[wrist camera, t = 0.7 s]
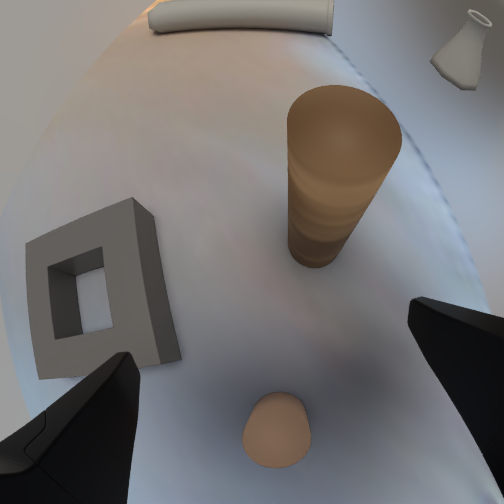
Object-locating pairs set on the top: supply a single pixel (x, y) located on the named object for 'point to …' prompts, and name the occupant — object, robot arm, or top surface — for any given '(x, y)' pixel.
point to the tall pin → (334, 167)
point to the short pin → (277, 431)
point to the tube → (243, 15)
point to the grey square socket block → (118, 287)
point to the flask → (463, 53)
